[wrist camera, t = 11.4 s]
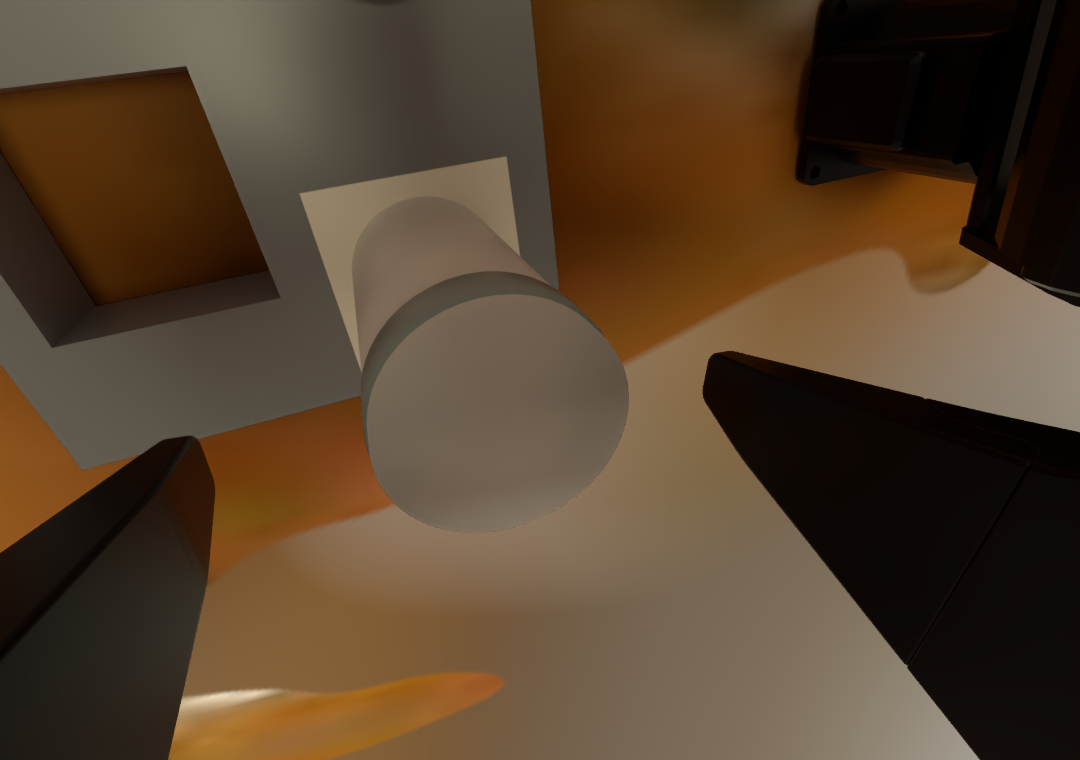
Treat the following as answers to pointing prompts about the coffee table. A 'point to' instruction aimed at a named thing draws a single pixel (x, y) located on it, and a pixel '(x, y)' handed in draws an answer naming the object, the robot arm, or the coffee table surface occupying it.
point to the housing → (266, 196)
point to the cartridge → (476, 373)
